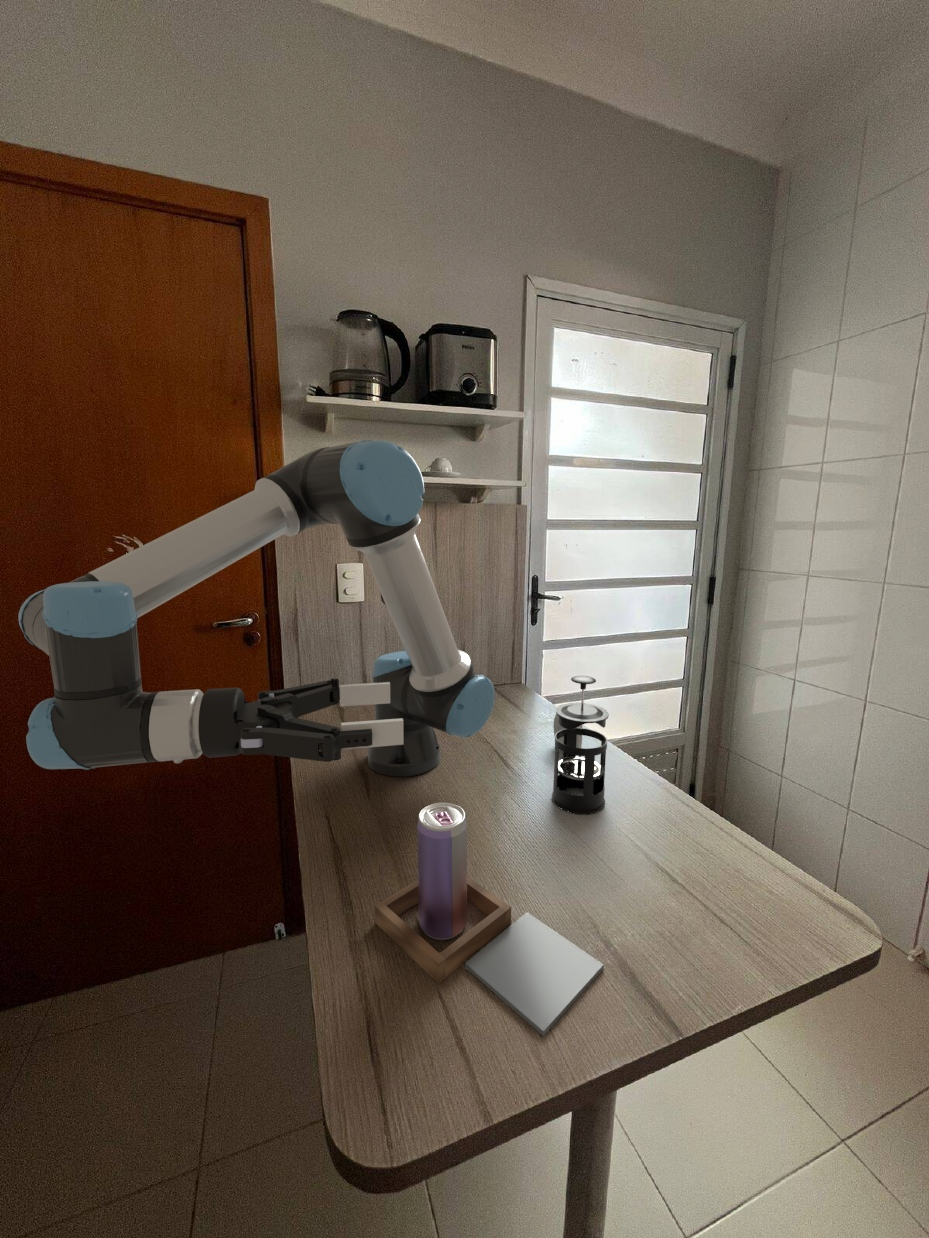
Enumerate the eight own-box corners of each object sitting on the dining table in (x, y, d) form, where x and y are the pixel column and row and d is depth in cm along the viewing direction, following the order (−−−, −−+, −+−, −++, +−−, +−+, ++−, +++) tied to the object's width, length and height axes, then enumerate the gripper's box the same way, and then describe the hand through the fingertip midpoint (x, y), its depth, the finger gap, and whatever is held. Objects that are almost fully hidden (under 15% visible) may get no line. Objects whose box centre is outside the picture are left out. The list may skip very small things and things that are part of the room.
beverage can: (428, 949, 61) (426, 834, 58) (412, 914, 66) (410, 807, 63) (474, 933, 63) (475, 822, 60) (455, 900, 68) (455, 797, 65)
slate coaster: (465, 967, 58) (465, 962, 58) (526, 915, 66) (526, 911, 66) (543, 1036, 50) (543, 1031, 50) (603, 969, 58) (603, 964, 58)
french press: (615, 814, 88) (623, 686, 84) (562, 819, 87) (567, 688, 82) (589, 780, 100) (595, 666, 95) (542, 784, 98) (546, 668, 94)
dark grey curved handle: (550, 744, 116) (551, 702, 114) (564, 743, 116) (566, 700, 115) (569, 764, 106) (570, 719, 104) (584, 763, 107) (586, 717, 105)
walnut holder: (375, 922, 65) (374, 905, 64) (446, 877, 73) (446, 861, 72) (438, 983, 56) (438, 964, 56) (511, 924, 64) (511, 906, 64)
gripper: (228, 716, 70) (386, 705, 75) (173, 814, 46) (410, 788, 51) (224, 662, 68) (385, 655, 74) (166, 734, 45) (410, 716, 50)
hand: (396, 709), depth 62 cm, fingers open, 13 cm apart
